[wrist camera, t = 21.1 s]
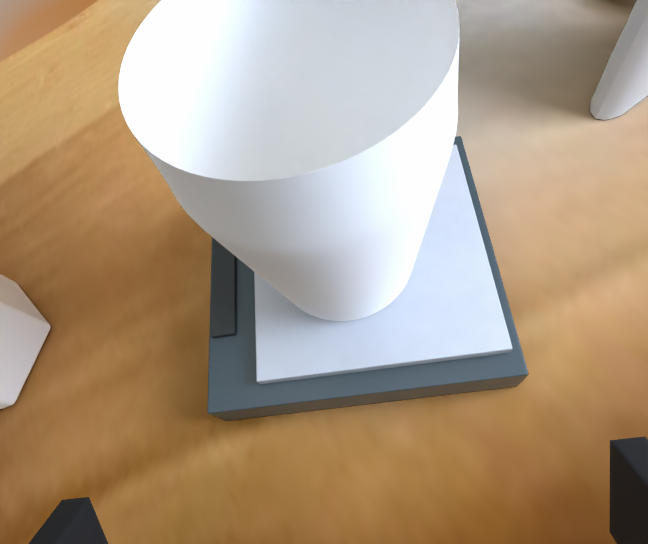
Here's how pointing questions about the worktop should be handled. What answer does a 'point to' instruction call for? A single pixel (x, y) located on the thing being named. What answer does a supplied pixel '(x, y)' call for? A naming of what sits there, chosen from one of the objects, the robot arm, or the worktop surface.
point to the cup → (302, 134)
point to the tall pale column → (625, 69)
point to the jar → (17, 339)
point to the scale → (370, 327)
